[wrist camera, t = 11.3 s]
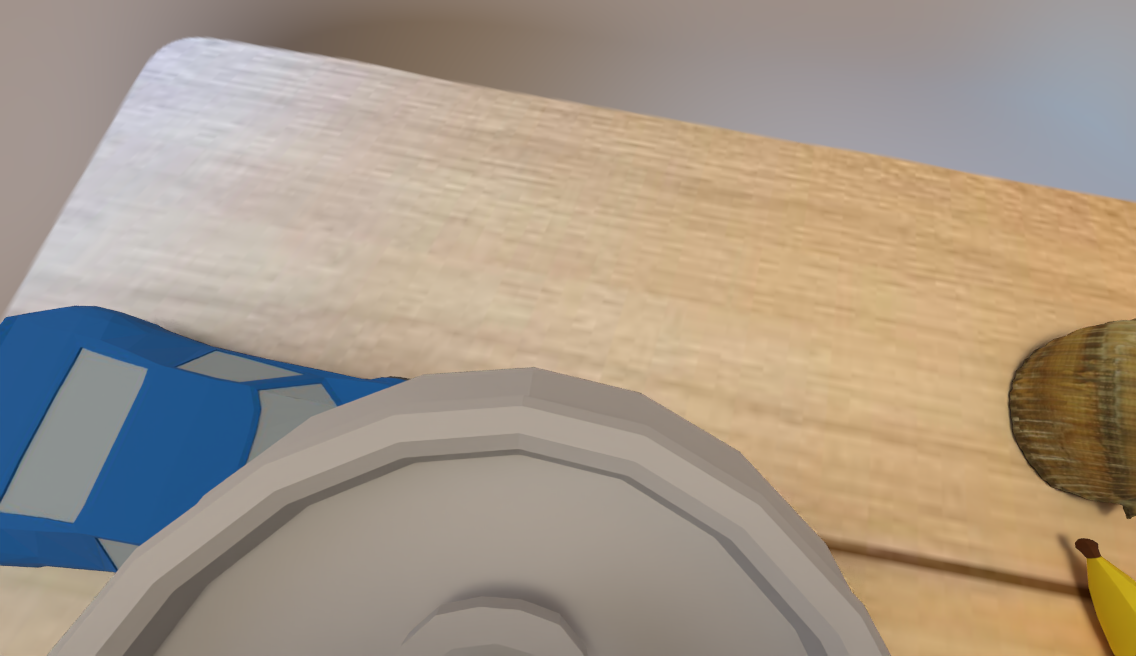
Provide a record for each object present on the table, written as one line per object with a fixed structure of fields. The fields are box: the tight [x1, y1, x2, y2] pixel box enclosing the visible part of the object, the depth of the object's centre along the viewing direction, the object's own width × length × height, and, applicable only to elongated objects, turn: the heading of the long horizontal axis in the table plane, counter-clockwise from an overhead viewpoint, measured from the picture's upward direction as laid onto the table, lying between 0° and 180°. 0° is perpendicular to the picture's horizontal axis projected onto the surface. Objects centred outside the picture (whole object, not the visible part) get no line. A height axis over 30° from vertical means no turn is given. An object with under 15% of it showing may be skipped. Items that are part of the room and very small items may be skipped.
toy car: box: [0, 306, 410, 573], centre depth 20 cm, size 9×20×5 cm, turn 78°
